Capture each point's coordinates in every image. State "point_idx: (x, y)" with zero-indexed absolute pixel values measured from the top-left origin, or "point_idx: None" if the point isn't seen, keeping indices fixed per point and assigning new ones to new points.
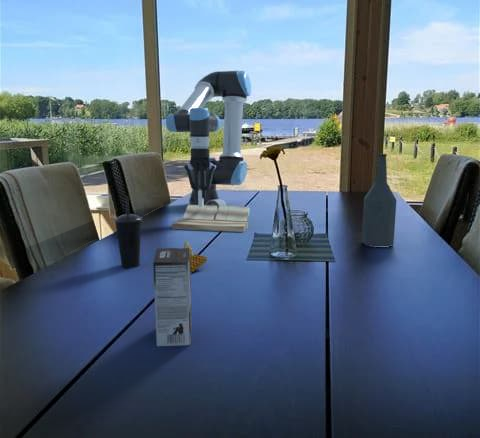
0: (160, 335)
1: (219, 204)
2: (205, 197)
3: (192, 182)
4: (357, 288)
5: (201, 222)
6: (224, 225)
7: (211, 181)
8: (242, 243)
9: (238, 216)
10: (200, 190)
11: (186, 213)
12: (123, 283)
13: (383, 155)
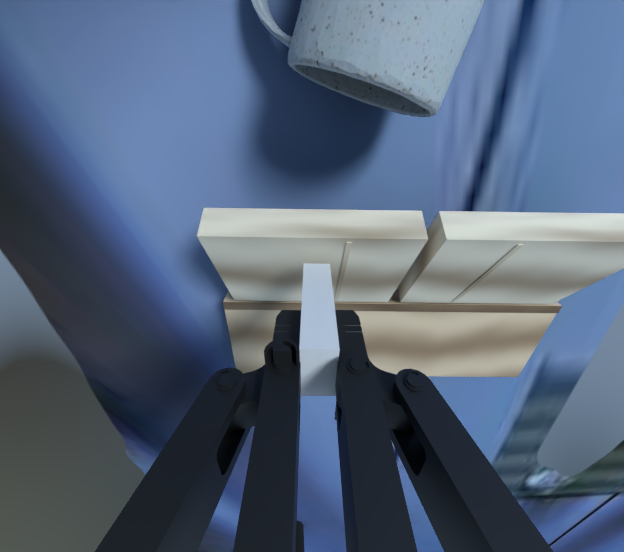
0: None
1: (443, 95)
2: (354, 313)
3: (223, 485)
4: (593, 538)
5: None
6: (443, 371)
7: (483, 457)
8: (479, 442)
9: (532, 290)
10: (318, 380)
11: (235, 283)
12: (313, 549)
13: None
